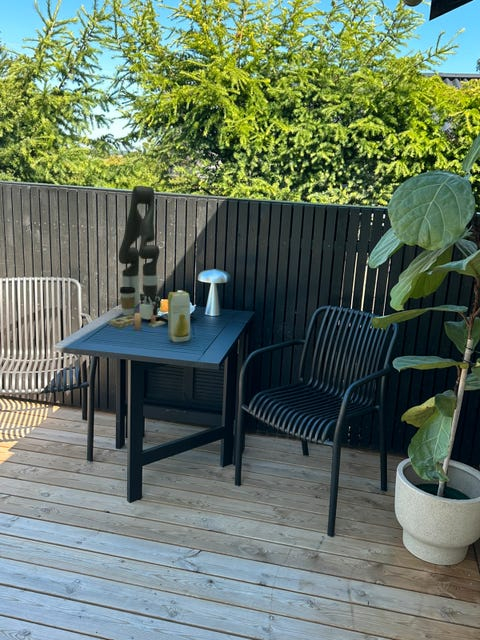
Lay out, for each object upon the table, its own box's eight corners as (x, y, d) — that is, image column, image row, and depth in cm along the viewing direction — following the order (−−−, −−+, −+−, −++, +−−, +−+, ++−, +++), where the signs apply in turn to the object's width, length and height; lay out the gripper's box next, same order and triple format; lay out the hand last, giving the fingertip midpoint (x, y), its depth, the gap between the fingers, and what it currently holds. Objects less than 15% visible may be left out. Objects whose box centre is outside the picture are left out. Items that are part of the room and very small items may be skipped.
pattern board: (148, 325, 295) (148, 315, 294) (160, 322, 301) (159, 312, 300) (154, 326, 293) (153, 317, 291) (165, 323, 299) (165, 314, 297)
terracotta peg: (133, 329, 288) (133, 313, 286) (138, 327, 290) (137, 312, 288) (137, 330, 286) (137, 314, 284) (142, 329, 289) (141, 313, 287)
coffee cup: (118, 313, 318) (117, 286, 314) (134, 311, 322) (133, 285, 318) (122, 316, 311) (121, 289, 307) (138, 315, 314) (137, 288, 310)
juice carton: (172, 343, 267) (172, 292, 261) (167, 338, 274) (166, 289, 267) (191, 341, 271) (191, 291, 264) (185, 336, 278) (185, 287, 271)
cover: (139, 317, 303) (139, 304, 301) (153, 313, 310) (153, 301, 309) (147, 319, 299) (147, 306, 297) (161, 315, 307) (161, 302, 305)
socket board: (119, 328, 290) (119, 323, 289) (109, 325, 294) (109, 320, 294) (140, 322, 300) (140, 317, 299) (130, 319, 305) (130, 315, 304)
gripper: (164, 284, 299) (165, 315, 303) (145, 280, 307) (146, 310, 312) (154, 286, 293) (154, 318, 297) (135, 282, 302) (136, 313, 306)
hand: (150, 314), depth 305 cm, fingers closed on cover, 6 cm apart
